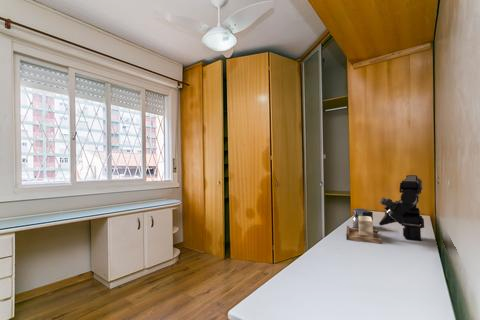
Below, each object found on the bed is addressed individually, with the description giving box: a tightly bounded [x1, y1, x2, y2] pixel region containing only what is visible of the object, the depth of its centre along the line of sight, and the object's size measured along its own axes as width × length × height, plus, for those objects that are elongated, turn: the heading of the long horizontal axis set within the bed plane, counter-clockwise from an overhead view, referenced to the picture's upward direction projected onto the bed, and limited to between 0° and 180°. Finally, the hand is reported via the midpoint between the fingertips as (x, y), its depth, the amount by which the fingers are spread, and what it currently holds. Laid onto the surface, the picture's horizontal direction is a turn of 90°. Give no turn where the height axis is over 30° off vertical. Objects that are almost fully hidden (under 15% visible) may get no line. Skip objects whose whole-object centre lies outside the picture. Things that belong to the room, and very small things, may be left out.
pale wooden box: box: [358, 216, 374, 238], centre depth 119 cm, size 6×11×9 cm, turn 154°
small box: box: [353, 208, 374, 222], centre depth 137 cm, size 11×6×10 cm, turn 1°
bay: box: [345, 225, 382, 244], centre depth 120 cm, size 15×16×3 cm
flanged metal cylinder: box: [351, 212, 359, 229], centre depth 134 cm, size 5×8×9 cm
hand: (379, 224), depth 116 cm, fingers closed
